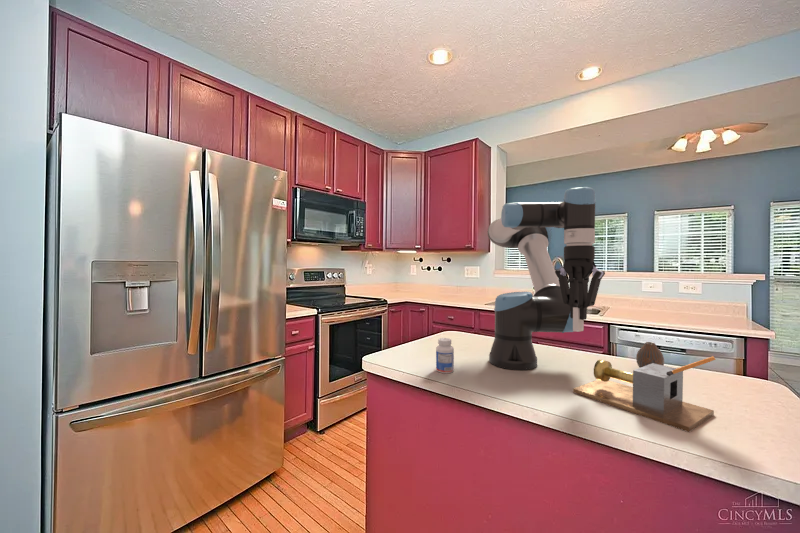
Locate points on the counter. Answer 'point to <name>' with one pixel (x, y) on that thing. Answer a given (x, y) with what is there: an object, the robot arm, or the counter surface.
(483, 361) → the counter surface
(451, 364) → the pill bottle
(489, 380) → the counter surface
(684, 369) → the orange rod
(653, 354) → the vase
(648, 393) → the hitch block
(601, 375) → the lynch pin
